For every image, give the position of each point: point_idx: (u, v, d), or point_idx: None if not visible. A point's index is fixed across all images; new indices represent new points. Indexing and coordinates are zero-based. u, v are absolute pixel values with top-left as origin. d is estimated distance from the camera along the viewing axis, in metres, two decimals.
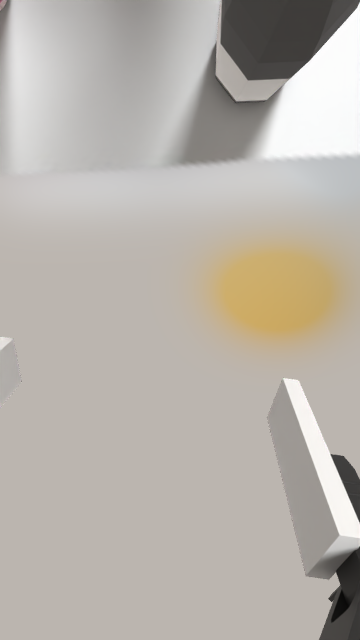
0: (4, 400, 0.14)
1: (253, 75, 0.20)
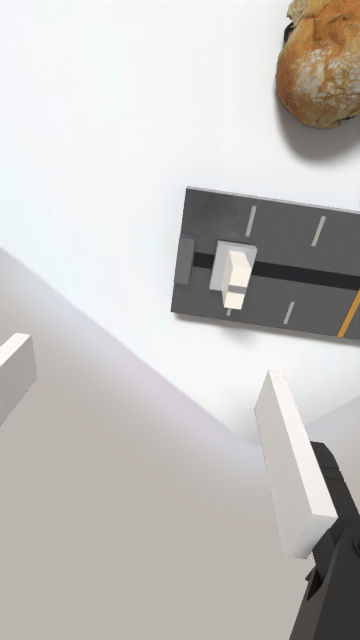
0: (22, 395, 0.14)
1: None
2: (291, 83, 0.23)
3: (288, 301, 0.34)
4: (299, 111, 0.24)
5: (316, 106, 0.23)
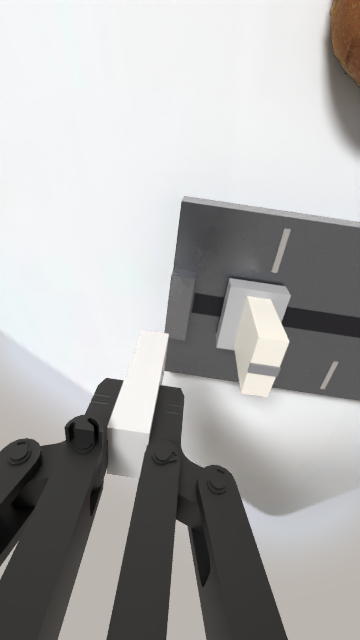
0: None
1: None
2: None
3: (329, 361, 0.23)
4: None
5: None
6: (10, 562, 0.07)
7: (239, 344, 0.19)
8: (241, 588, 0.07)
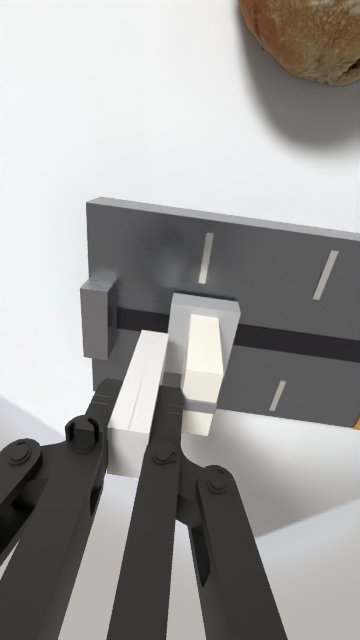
0: None
1: None
2: None
3: (276, 380, 0.21)
4: (282, 39, 0.12)
5: (318, 20, 0.10)
6: (10, 562, 0.07)
7: None
8: (241, 588, 0.07)
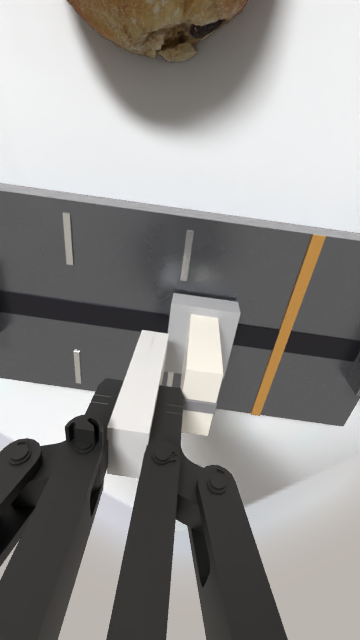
0: None
1: None
2: None
3: None
4: (82, 9, 0.12)
5: None
6: (10, 562, 0.07)
7: None
8: (241, 588, 0.07)
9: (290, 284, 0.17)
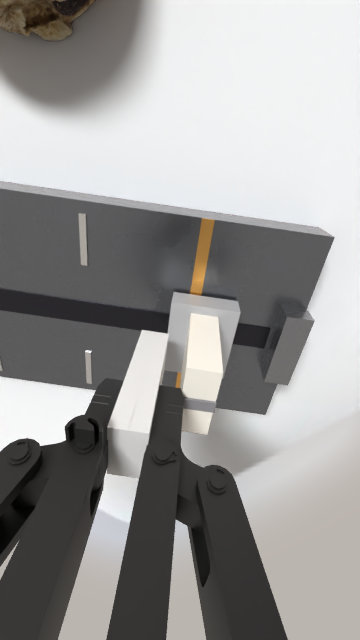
0: None
1: None
2: None
3: (82, 351, 0.21)
4: None
5: None
6: (10, 562, 0.07)
7: (182, 368, 0.17)
8: (241, 588, 0.07)
9: (189, 269, 0.17)
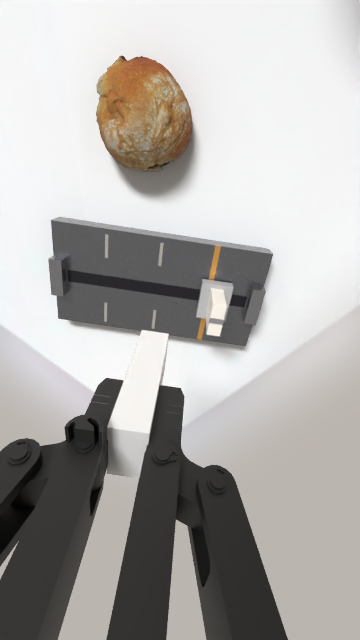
0: None
1: None
2: (104, 141, 0.30)
3: (151, 310, 0.41)
4: (117, 160, 0.32)
5: (124, 158, 0.31)
6: (10, 562, 0.07)
7: (207, 313, 0.37)
8: (241, 588, 0.07)
9: (208, 268, 0.37)
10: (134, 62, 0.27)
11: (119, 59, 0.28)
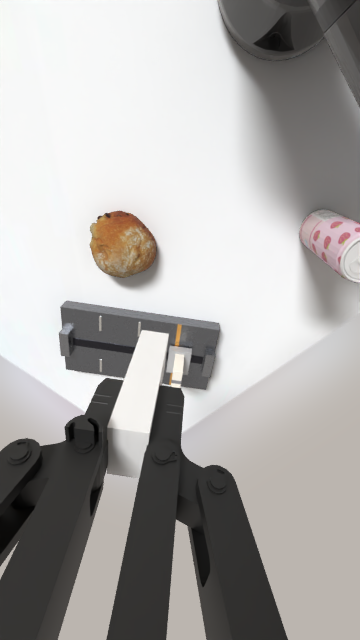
0: None
1: None
2: (96, 262, 0.44)
3: None
4: (105, 272, 0.46)
5: (109, 274, 0.45)
6: (10, 562, 0.07)
7: None
8: (241, 588, 0.07)
9: (174, 338, 0.51)
10: (114, 221, 0.41)
11: (104, 216, 0.41)
